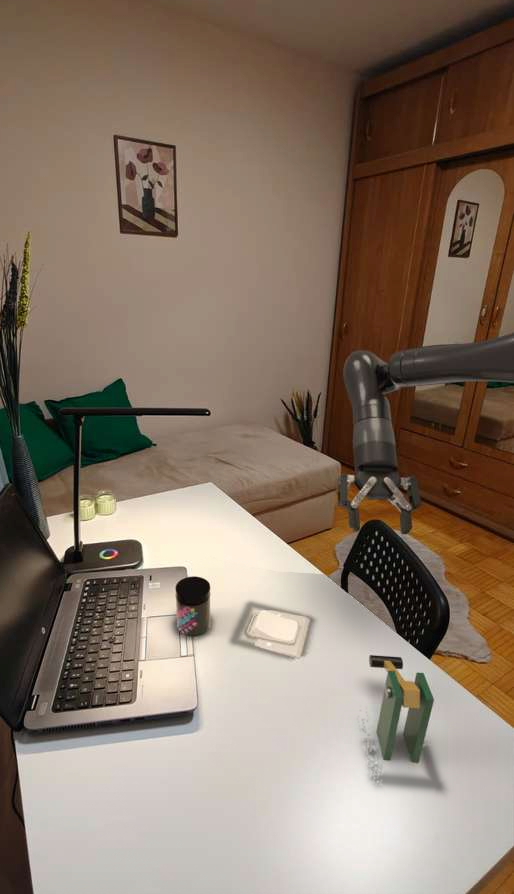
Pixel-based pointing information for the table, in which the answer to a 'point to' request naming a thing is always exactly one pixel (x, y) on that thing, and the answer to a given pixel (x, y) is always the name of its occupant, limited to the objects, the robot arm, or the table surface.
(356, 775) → the table surface
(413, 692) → the lever
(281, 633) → the light switch
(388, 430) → the robot arm
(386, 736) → the bracket
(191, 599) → the supplement container
